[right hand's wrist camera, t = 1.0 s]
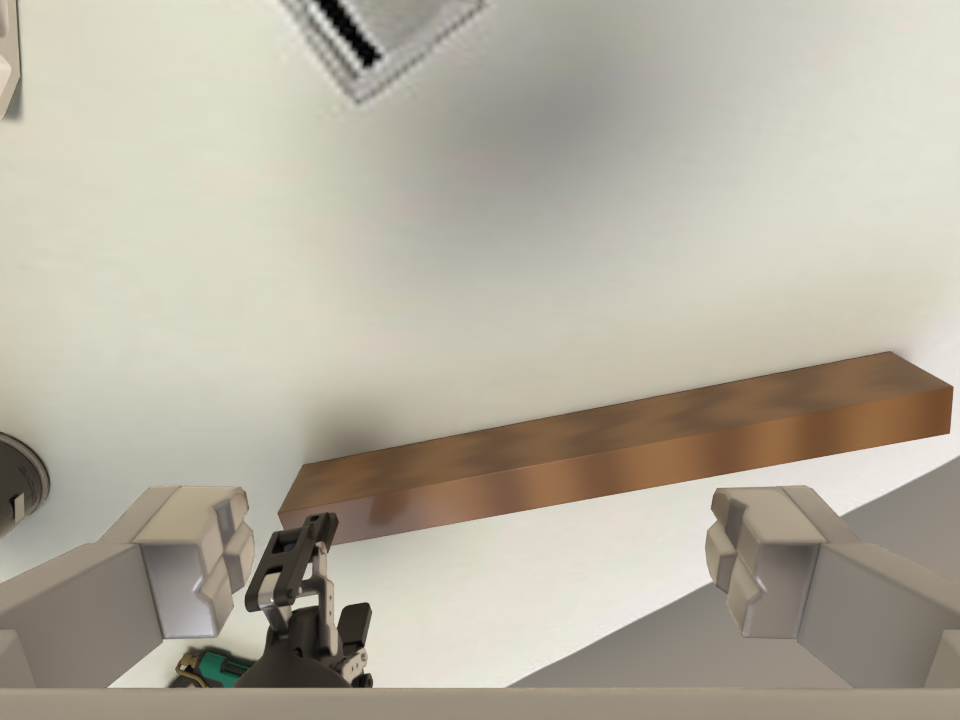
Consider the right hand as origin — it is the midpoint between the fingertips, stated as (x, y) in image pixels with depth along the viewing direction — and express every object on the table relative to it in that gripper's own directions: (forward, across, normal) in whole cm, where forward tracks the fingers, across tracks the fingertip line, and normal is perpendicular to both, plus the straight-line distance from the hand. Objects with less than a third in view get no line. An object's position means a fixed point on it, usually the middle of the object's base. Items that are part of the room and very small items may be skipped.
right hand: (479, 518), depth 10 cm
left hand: (+28, +10, +24) cm, 38 cm away
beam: (+40, -10, +19) cm, 46 cm away
